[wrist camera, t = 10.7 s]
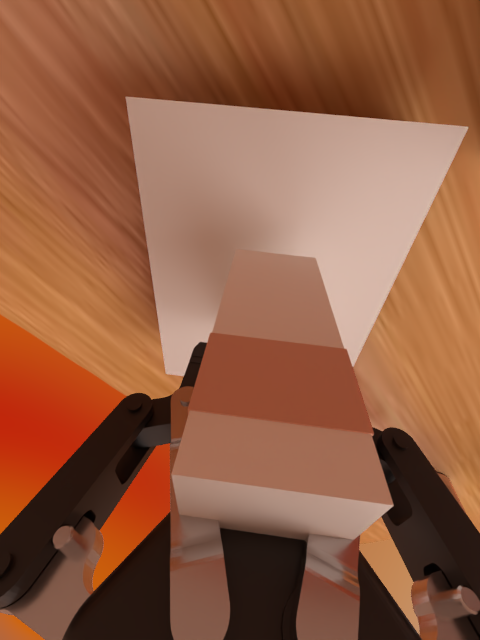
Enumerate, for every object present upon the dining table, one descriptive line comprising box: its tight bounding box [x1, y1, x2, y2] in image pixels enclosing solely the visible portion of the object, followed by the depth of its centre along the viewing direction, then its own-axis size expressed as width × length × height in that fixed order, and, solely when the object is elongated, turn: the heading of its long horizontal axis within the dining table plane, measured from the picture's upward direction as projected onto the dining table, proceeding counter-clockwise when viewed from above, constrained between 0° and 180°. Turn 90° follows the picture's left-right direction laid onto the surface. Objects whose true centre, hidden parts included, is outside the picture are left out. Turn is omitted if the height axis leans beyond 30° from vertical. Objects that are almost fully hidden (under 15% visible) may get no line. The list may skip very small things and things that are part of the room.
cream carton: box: [171, 249, 394, 540], centre depth 13 cm, size 5×8×12 cm, turn 176°
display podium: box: [125, 96, 469, 376], centre depth 21 cm, size 21×17×5 cm
